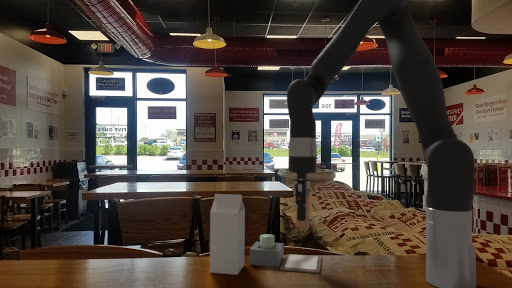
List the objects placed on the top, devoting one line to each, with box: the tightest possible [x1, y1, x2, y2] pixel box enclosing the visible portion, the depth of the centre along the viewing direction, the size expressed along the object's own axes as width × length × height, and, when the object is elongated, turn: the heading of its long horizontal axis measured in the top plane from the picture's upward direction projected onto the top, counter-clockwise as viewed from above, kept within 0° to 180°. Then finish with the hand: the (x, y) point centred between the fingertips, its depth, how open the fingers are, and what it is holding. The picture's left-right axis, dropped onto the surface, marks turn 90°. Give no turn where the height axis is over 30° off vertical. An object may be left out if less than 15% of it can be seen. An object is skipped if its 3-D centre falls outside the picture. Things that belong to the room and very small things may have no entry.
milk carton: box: [209, 193, 246, 275], centre depth 88 cm, size 7×7×19 cm
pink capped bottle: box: [295, 188, 311, 229], centre depth 93 cm, size 4×4×10 cm
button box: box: [248, 241, 285, 268], centre depth 95 cm, size 8×8×4 cm
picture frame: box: [279, 253, 323, 275], centre depth 92 cm, size 10×13×1 cm
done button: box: [259, 233, 276, 249], centre depth 95 cm, size 4×4×5 cm
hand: (301, 218), depth 93 cm, fingers closed on pink capped bottle, 3 cm apart
